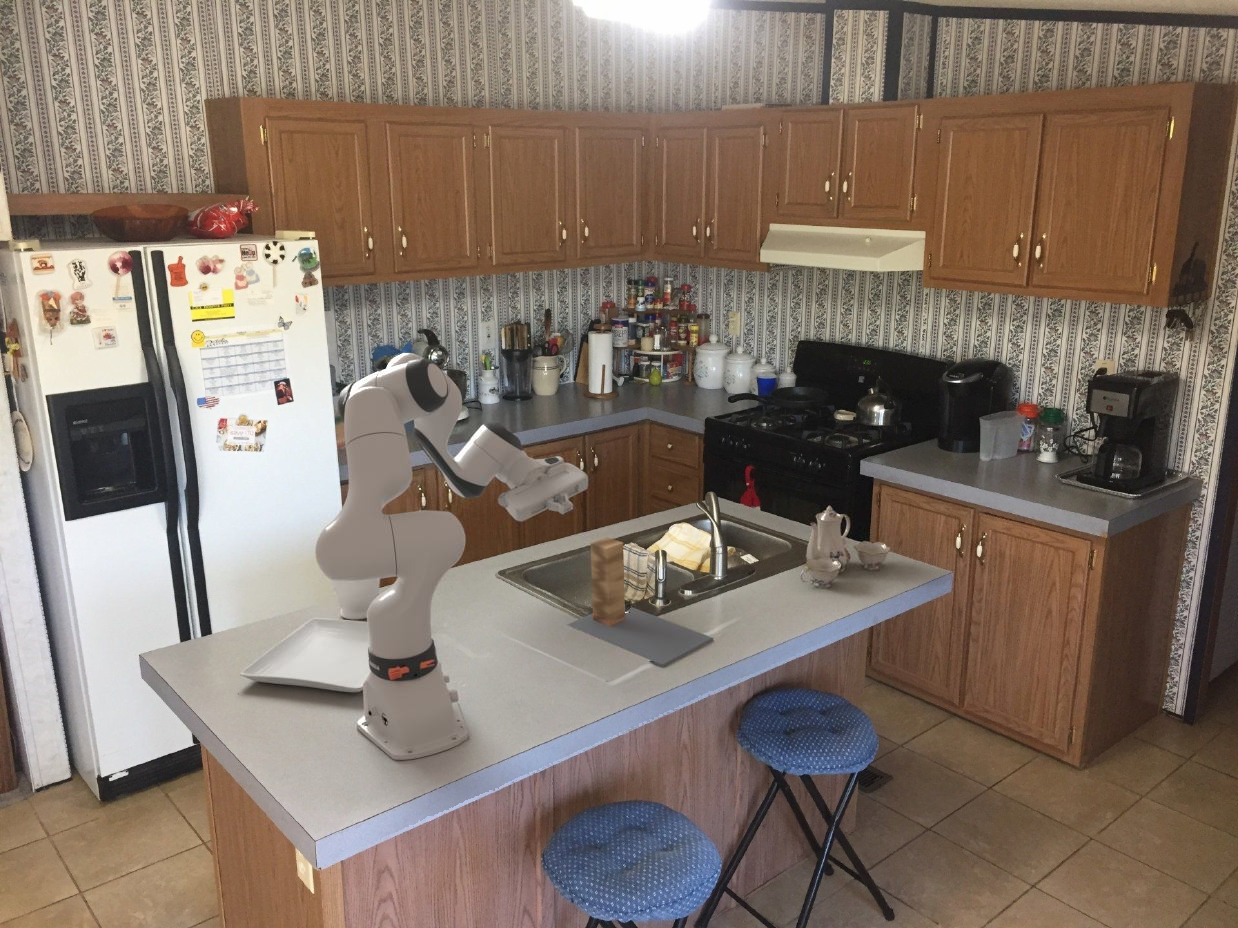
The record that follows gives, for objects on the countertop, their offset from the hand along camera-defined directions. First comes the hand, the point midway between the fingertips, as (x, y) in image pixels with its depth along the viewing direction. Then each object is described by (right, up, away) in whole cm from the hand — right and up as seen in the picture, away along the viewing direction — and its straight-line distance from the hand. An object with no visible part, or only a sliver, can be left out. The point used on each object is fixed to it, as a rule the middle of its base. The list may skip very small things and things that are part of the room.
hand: (568, 509), depth 226 cm
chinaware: (+65, -16, +24) cm, 71 cm away
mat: (+16, -26, -7) cm, 31 cm away
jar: (-48, -24, +7) cm, 54 cm away
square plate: (-47, -31, -16) cm, 59 cm away
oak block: (+9, -24, -1) cm, 26 cm away
